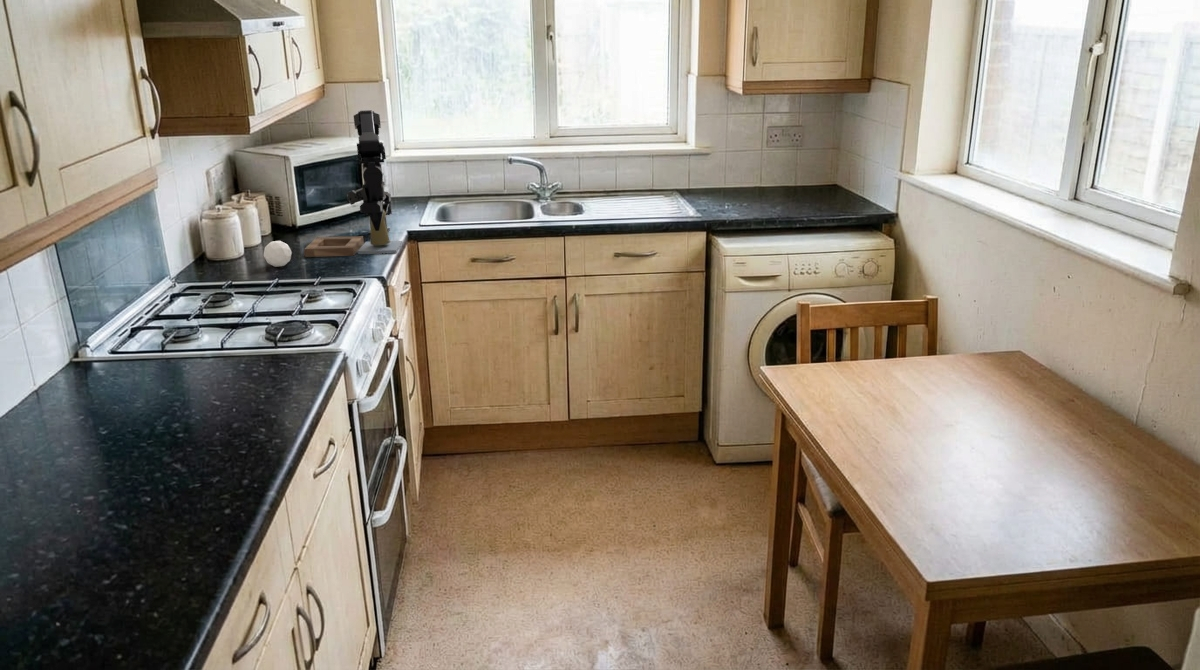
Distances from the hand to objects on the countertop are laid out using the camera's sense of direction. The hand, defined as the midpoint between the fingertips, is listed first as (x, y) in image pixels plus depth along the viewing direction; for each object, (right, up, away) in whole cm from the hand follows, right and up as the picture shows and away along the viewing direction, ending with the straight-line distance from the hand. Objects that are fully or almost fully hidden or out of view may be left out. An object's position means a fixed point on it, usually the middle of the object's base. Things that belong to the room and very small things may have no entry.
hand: (378, 228), depth 271 cm
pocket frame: (-14, -7, +2) cm, 16 cm away
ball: (-26, -13, -15) cm, 33 cm away
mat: (0, -6, +2) cm, 7 cm away
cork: (0, -4, +2) cm, 5 cm away
